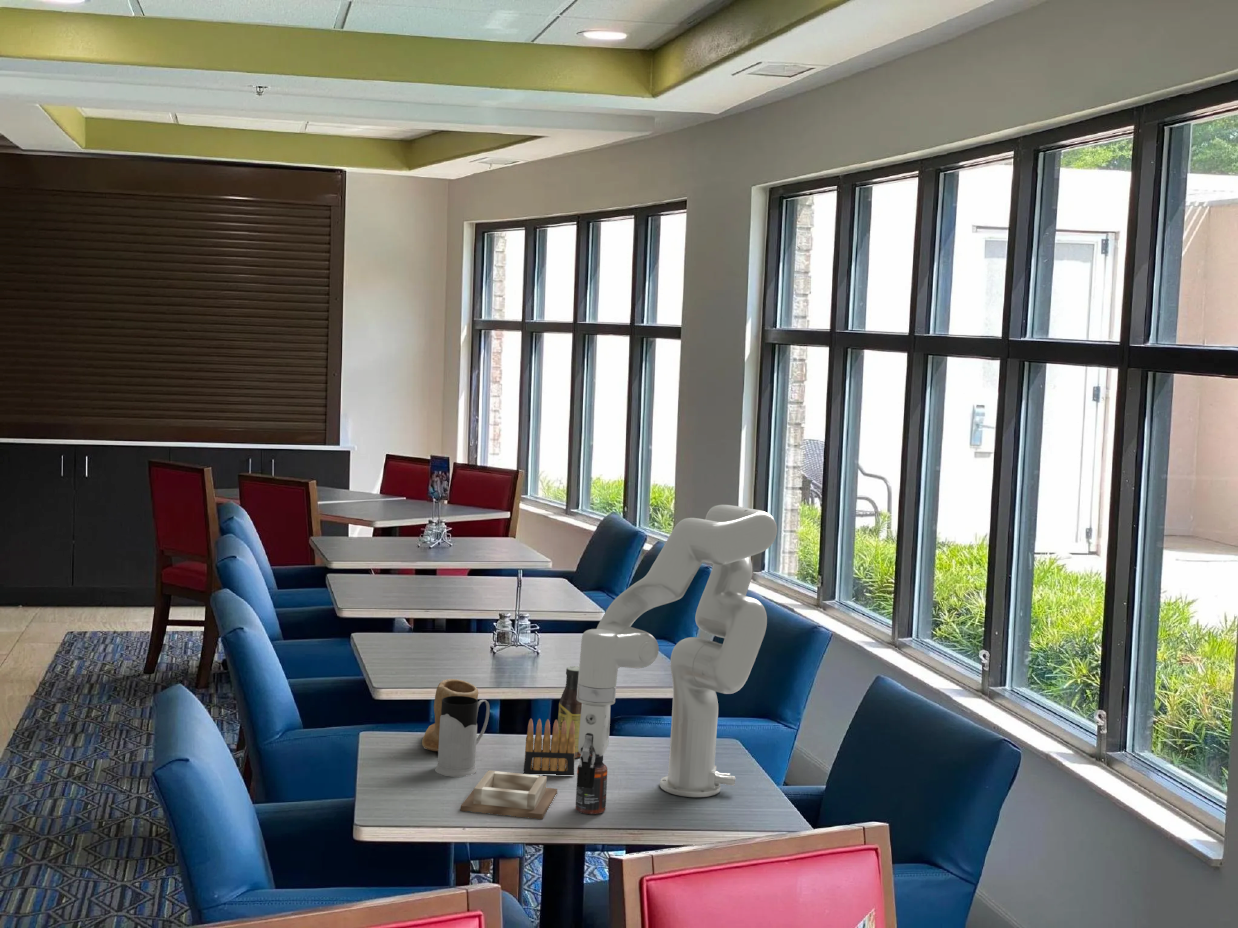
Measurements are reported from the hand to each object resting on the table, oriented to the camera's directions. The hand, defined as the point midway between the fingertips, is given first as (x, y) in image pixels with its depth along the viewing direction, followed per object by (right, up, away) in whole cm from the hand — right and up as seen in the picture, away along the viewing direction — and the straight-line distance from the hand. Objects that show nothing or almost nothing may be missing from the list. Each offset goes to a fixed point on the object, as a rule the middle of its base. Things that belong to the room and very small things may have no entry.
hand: (589, 780), depth 261 cm
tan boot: (-32, -2, +38) cm, 50 cm away
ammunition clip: (-9, -4, +22) cm, 24 cm away
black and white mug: (-27, -3, +24) cm, 36 cm away
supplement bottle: (0, -6, +1) cm, 6 cm away
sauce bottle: (-5, -3, +37) cm, 37 cm away
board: (-16, -5, +3) cm, 17 cm away
